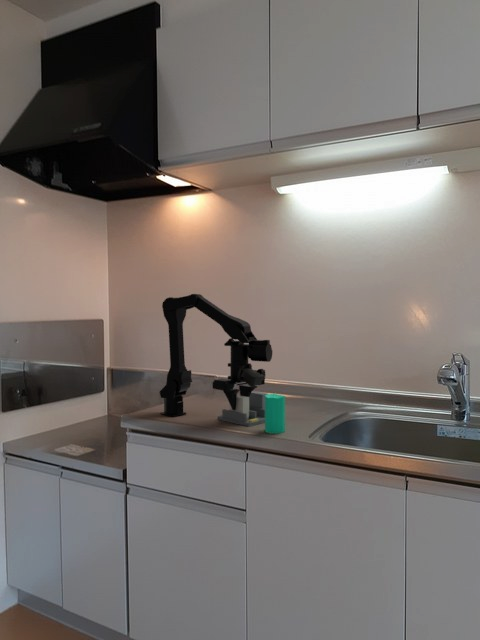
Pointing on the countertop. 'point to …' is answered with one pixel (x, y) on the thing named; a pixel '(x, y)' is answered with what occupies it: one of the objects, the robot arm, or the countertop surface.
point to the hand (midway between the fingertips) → (239, 408)
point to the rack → (254, 412)
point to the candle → (274, 413)
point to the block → (242, 405)
